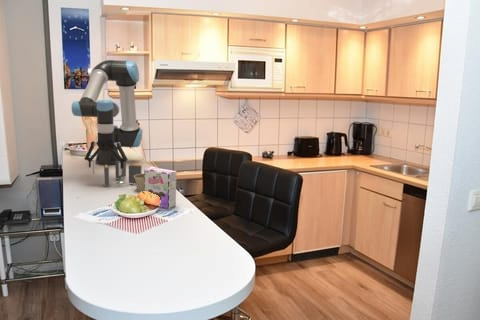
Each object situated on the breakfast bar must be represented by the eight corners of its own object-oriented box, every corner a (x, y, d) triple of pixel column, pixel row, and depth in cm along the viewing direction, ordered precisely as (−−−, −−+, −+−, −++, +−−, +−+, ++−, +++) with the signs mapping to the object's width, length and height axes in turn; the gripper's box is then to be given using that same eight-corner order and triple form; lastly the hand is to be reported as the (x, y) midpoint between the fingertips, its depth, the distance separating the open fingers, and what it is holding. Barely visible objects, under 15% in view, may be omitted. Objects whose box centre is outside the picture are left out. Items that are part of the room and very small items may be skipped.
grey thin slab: (130, 183, 211) (130, 163, 208) (141, 184, 210) (141, 163, 208) (128, 184, 208) (128, 164, 206) (140, 185, 208) (140, 164, 206)
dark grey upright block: (109, 183, 208) (108, 163, 206) (109, 187, 203) (109, 165, 201) (104, 184, 208) (103, 163, 205) (104, 187, 202) (103, 166, 200)
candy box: (143, 203, 185) (143, 168, 182) (152, 200, 190) (152, 166, 187) (168, 209, 179) (168, 173, 175) (176, 206, 184) (176, 170, 180)
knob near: (115, 179, 216) (114, 159, 214) (122, 177, 222) (122, 157, 219) (119, 180, 215) (118, 160, 213) (126, 178, 221) (126, 158, 218)
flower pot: (149, 196, 195) (149, 179, 194) (130, 194, 197) (130, 177, 195) (156, 191, 204) (157, 174, 203) (139, 189, 206) (139, 172, 204)
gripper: (133, 132, 204) (133, 173, 208) (82, 129, 203) (83, 171, 207) (129, 134, 196) (130, 177, 201) (76, 132, 196) (78, 175, 200)
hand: (106, 174), depth 204 cm, fingers open, 13 cm apart
